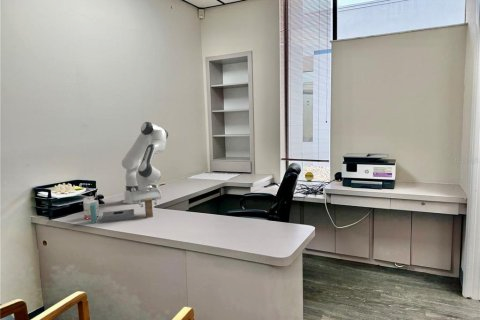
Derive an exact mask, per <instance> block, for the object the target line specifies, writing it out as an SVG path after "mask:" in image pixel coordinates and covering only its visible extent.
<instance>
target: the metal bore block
mask: <svg viewBox="0 0 480 320" xmlns="http://www.w3.org/2000/svg"><path fill="white" fill-rule="evenodd" d="M129 219H131V220H135V209H134V208H132V209H124V210H123V209H122V210H112V211H104V212H103V213H102V215H101V222H105V223H110V222H109V221H113V222H120V221H119V220H122V221H128V220H129Z"/></svg>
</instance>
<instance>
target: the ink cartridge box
mask: <svg viewBox="0 0 480 320" xmlns="http://www.w3.org/2000/svg"><path fill="white" fill-rule="evenodd" d="M91 203H95V204H96V216H99V217H100V208H99V206H100V205H99V200H98V199H97V200H96V199H95V195H92V196H87V197H83V214H84V219H85V218H88V219H89V220H91V219H90V218H91V212H90V205H91ZM88 219H87V220H88Z"/></svg>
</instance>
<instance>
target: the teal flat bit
mask: <svg viewBox="0 0 480 320" xmlns="http://www.w3.org/2000/svg"><path fill="white" fill-rule="evenodd" d="M90 212H91V219H90V222H91V224H94V223H93V222H96V223H97V221H98V217H97V216H96V204H95V203H91V205H90ZM96 220H97V221H96Z"/></svg>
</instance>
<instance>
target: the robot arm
mask: <svg viewBox="0 0 480 320" xmlns="http://www.w3.org/2000/svg"><path fill="white" fill-rule="evenodd" d="M168 137H169V132H168V131H167V130H166V129H165V128H162V127H161V126H159V125H156V124H154V123H152V122H149V121H145V122H143V123H142V125H141V127H140V134H138V136H137V138H136V140H135V141H134V143H133V145H132V146H131V148H130V149H129V150H128V152H127V153H126V154H125V156H124V157H123V159H122V160H121V166H122V168H123V169H126V173H125V192H124V200H122V204H128V205H129V204H131V205H132V204H138V205H140V208H143V207H144V204H143V202H144V203H145V199H151V200H152V201H154V203H153V204H154V206H157V205H158V200H162V197H163V195H162V191H161V189H160V188H159V185H157V184H154V183H157V182H158V181H159V180H160V179H161V176H162V173H161V171H160V170H159V169H158V168H157V167H155V166H153V165H152V159H153V156H154V155H159V154H162V153H163V152H164V151H165V149H166V145H167V140H168Z"/></svg>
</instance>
